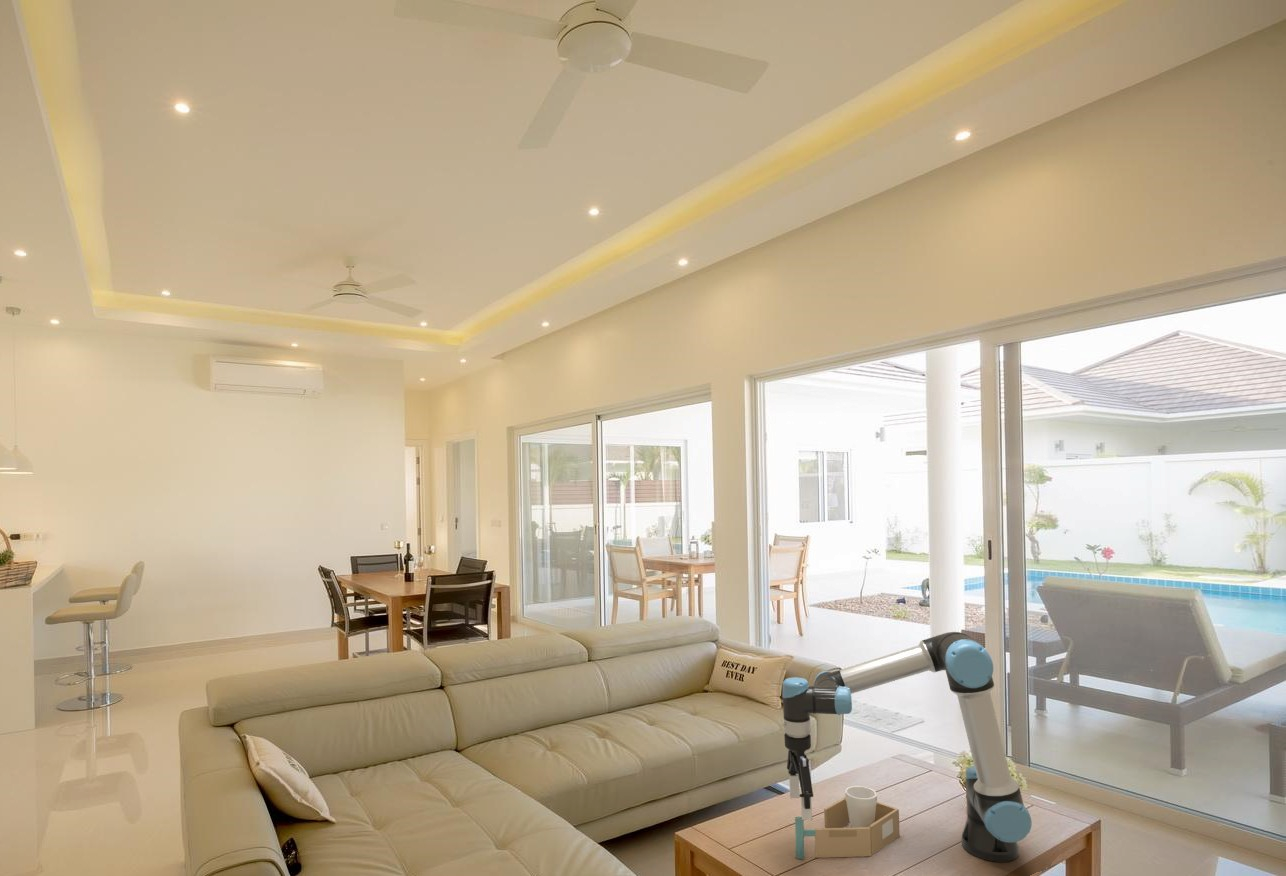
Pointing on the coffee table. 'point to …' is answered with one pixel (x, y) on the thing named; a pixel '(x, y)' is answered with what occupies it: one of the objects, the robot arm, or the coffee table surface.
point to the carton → (880, 830)
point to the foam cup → (861, 806)
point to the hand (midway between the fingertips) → (800, 808)
